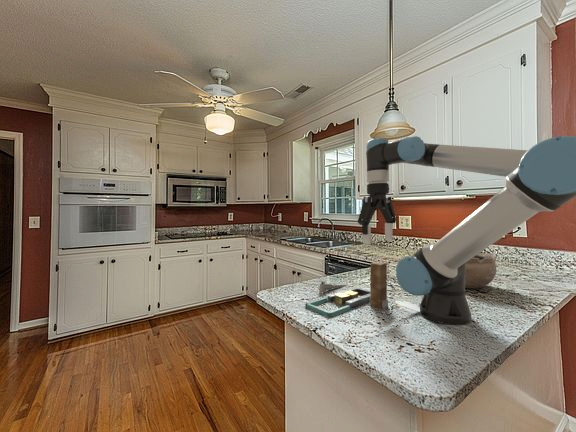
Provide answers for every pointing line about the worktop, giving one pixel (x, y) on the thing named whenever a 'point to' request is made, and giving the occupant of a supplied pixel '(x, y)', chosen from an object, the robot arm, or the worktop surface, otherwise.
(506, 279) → the worktop surface
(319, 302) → the tray
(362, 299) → the grey shallow bin
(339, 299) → the tan block
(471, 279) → the ceramic bowl
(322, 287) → the caliper
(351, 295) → the chip
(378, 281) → the brown long block
